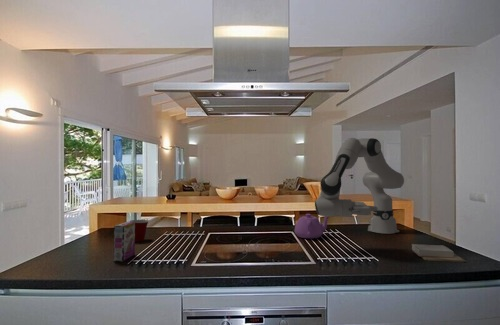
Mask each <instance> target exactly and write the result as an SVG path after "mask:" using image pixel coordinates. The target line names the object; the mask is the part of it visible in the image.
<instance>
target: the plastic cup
mask: <svg viewBox="0 0 500 325" xmlns="http://www.w3.org/2000/svg"><path fill="white" fill-rule="evenodd" d="M129 222H135V242H136V243H139V242H144V241H145V238H146V234H147V226H148V224H149V222H150V220H148V219H147V220H146V219H131V220H130V221H129Z"/></svg>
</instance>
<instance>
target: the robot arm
mask: <svg viewBox="0 0 500 325" xmlns="http://www.w3.org/2000/svg"><path fill="white" fill-rule="evenodd" d="M381 144H382V143H381V142H380V141H379V139H377V138H373V137H372V138H356V137H349V138H347V139H346V140H345V141H344V142H343V143H342V145H341V146H340V148H339V150H338V152H337V154H336V158H335V160H334V164H333V165H332V167H331V169H330V171H329V172H328V173H326V175H324V176H323V177H322V179H321V180H320V193H319V195H318V197H317V199H315V201H314V207H315V212H316V214H317V215H318V216H321V217H325V216H327V217H328V218H329V217H330V218H334V217H342V218H351V217H353V215H357V216H371V215H372V218H371V219H369V220H368V222H369V223H368V224H369V225H368V227H367V231H368V232H373V233H377V234H389V235H390V234H396V233H400V230H399V229H398V228H397V219H396V217H394V209H393V198H392V197H391V195H389V194H387V193H386V192H385V190H384V189H386V190H387V189H388V190H394V189H401V188H402V187H403V185H404V182H405V178H404V175H403V174H402V173H401V172H398V171H396V170H395V169H393V168H392V167H391V166H390V165H389V163H387V161H386V159H385V157H384V156H385V155H384V154H383V151H382V145H381ZM358 158H363V159H364V162H365V165H366V167H367V169H368V171H369V172H366V173H364V175H363V176H362V183H363V185H364V186H365V187H366V188H367V189H368V190H369V192H370V193H371V195H372V200H373V205H368V204H366V203H365V202H363V201H359V200H358V201H357V200H352V199H349V198H348V199H340V195H341V194H340V193H341V187H342V177H343V175H344V173H345V171H346V170H349V169H350V170H351V169H352V168H353V167H355V165H356V162H357V161H358ZM371 213H372V214H371Z"/></svg>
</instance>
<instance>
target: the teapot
mask: <svg viewBox="0 0 500 325" xmlns="http://www.w3.org/2000/svg"><path fill="white" fill-rule="evenodd" d="M323 218H324V219H323V224H321V222H320V220H319V219H318V217H316V216H313V215H312V214H311V213H305V216H301V217H299V218H298V220H297V221H296V224H295V226H294V233H295V235H296V236H297V237H299V238H301V239H314V238H315V239H318V238H320V237H321V236H322V235H323V234H324V231H326V230H327V228H328V218H329V217H327V216H324V217H323Z"/></svg>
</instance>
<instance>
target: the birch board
mask: <svg viewBox="0 0 500 325" xmlns="http://www.w3.org/2000/svg"><path fill="white" fill-rule="evenodd" d="M419 257H420V258H421V259H422V260H424V261H432V262H448V263H464V262H465V263H466V260H465V259H464V258H462V257H460V256H459V255H457V254H456V253H454V258H441V257H422V256H419Z"/></svg>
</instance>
